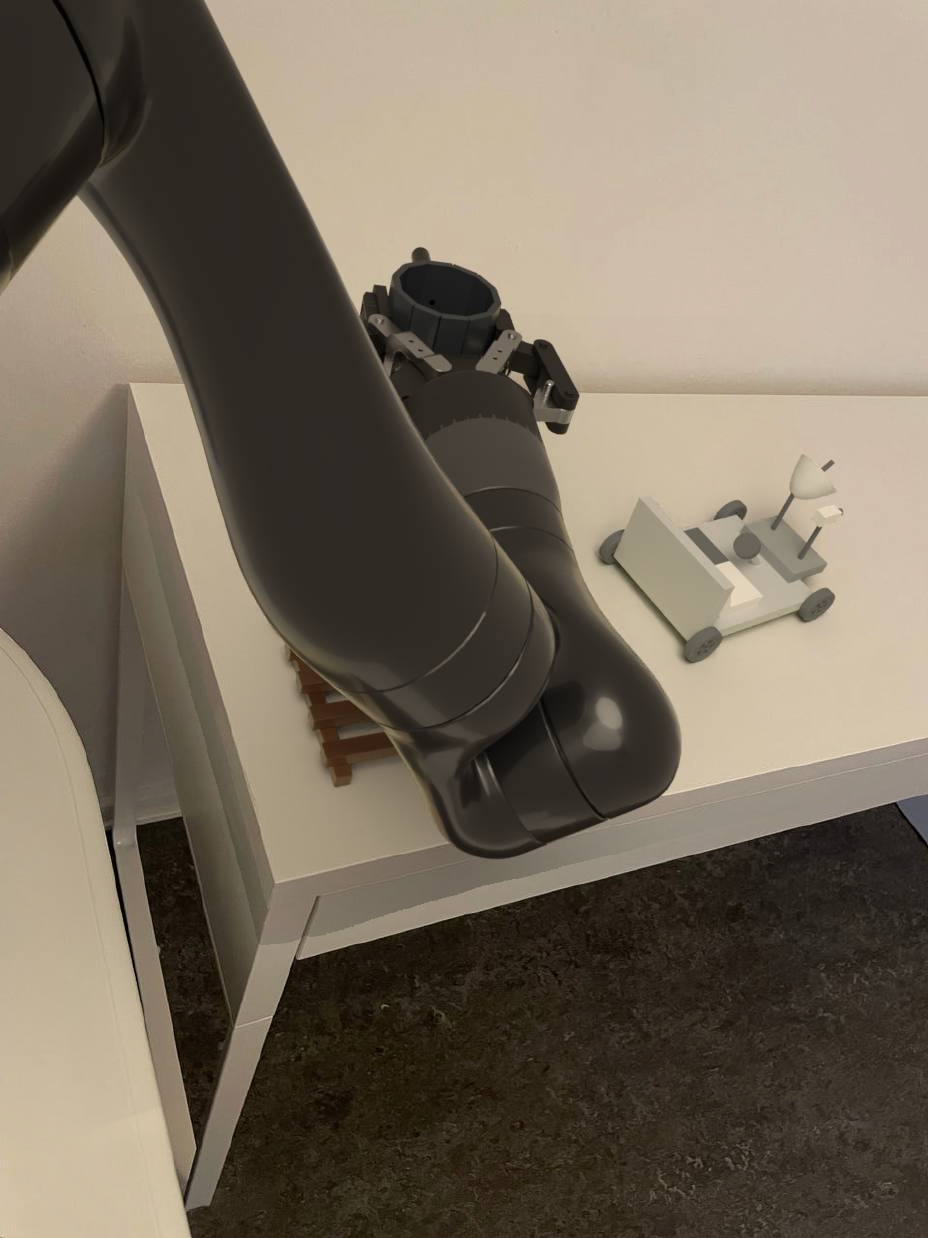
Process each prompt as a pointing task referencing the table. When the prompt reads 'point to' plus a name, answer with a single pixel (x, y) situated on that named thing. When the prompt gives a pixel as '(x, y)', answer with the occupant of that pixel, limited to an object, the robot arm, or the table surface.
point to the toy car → (726, 564)
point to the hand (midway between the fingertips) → (432, 305)
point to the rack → (337, 714)
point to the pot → (444, 305)
